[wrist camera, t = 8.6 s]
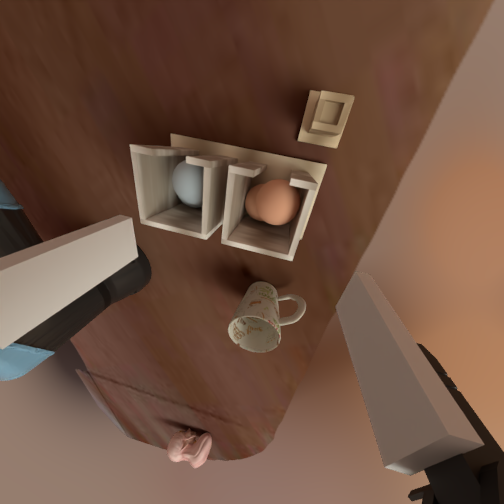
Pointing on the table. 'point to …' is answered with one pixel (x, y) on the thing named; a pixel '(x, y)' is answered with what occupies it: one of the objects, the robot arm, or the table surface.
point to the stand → (325, 118)
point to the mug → (261, 318)
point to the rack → (223, 192)
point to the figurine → (189, 447)
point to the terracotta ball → (277, 202)
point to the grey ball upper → (188, 182)
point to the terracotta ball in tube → (253, 202)
